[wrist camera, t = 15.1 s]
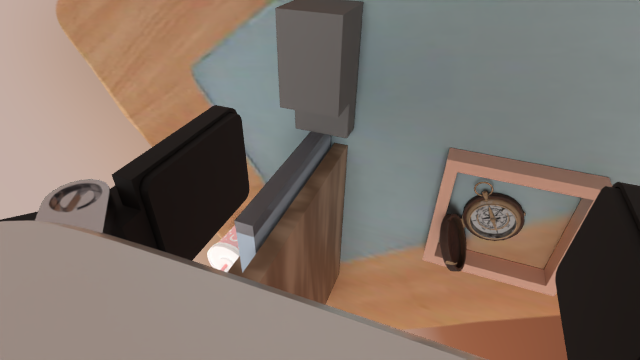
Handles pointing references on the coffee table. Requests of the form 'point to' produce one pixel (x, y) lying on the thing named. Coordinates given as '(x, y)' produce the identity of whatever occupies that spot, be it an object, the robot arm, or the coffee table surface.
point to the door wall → (306, 236)
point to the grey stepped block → (319, 63)
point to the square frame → (521, 175)
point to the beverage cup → (224, 251)
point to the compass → (479, 225)
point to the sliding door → (278, 195)
